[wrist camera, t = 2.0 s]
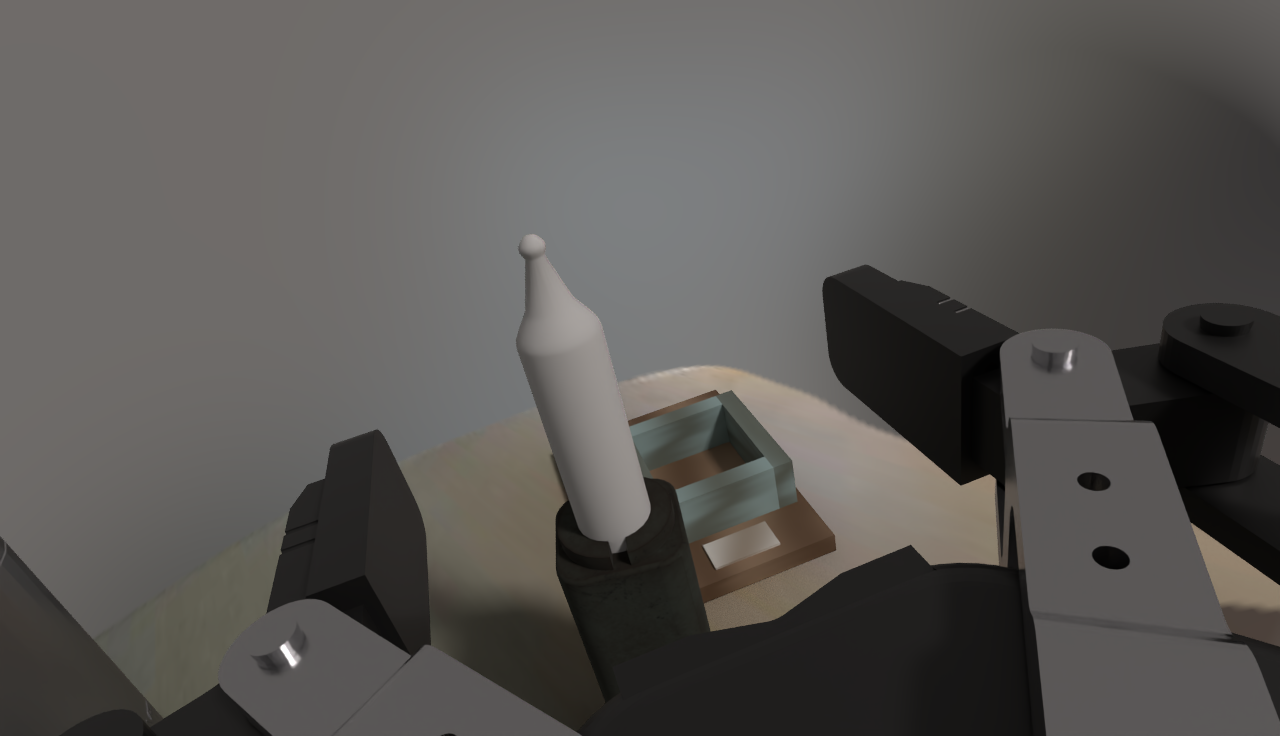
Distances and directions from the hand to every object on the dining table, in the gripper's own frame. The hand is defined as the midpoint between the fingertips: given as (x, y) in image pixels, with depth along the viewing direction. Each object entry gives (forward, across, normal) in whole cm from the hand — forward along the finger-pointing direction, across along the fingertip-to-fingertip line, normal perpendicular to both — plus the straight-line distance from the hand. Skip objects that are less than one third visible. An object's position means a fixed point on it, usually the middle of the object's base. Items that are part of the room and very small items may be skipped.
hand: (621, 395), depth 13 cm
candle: (+11, 0, +25) cm, 28 cm away
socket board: (+26, -5, +25) cm, 37 cm away
